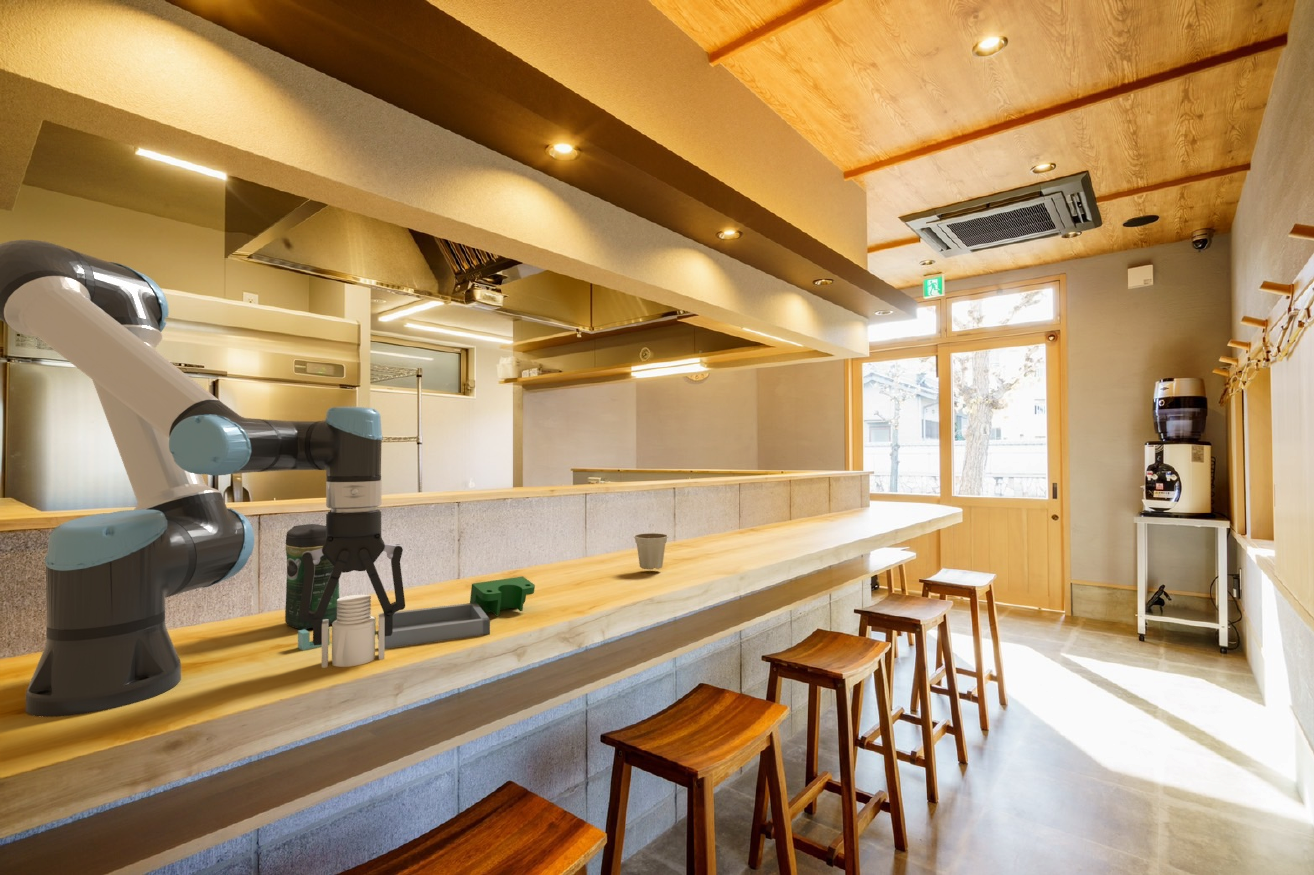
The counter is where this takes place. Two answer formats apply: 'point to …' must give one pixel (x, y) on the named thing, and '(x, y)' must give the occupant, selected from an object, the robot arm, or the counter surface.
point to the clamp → (501, 594)
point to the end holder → (437, 624)
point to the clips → (308, 640)
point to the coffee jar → (296, 545)
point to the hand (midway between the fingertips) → (353, 661)
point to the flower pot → (651, 549)
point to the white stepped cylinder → (353, 632)
